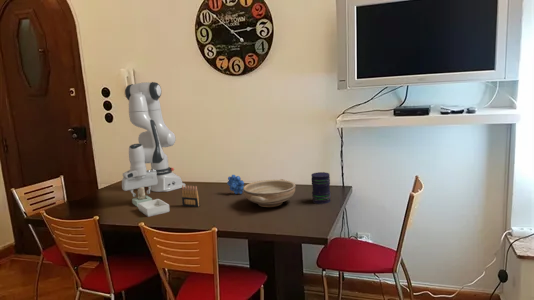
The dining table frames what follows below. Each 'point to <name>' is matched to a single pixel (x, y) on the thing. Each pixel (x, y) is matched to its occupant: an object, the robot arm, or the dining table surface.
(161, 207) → the tray
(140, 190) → the dowel
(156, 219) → the dining table surface
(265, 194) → the ceramic bowl
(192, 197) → the ammunition clip
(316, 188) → the storage jar
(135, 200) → the holder
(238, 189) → the grapes
